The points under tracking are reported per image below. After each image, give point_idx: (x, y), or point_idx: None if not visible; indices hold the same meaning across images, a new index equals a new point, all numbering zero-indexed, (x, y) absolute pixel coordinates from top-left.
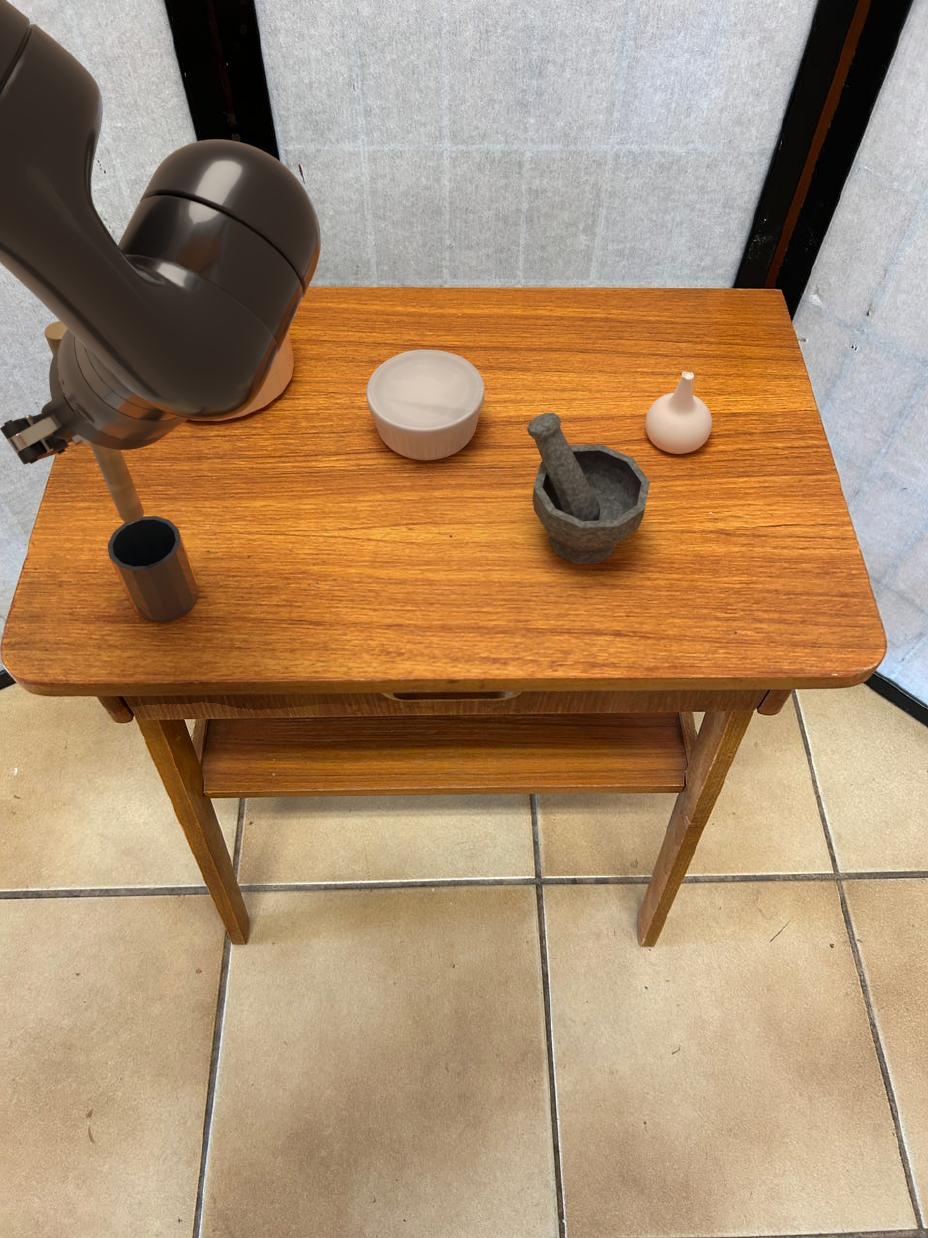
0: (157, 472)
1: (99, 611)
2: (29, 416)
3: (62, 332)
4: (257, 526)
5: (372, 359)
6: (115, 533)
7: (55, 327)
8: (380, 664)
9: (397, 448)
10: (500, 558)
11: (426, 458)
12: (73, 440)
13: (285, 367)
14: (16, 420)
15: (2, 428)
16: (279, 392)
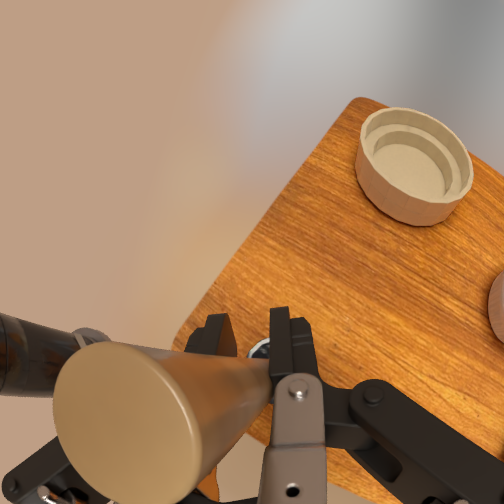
0: (335, 241)
1: None
2: (43, 500)
3: (119, 467)
4: (380, 341)
5: (497, 224)
6: (261, 343)
7: (99, 403)
8: (377, 496)
9: (494, 326)
10: (485, 444)
11: (502, 341)
12: None
13: (456, 206)
14: (17, 502)
15: (3, 488)
16: (443, 220)
